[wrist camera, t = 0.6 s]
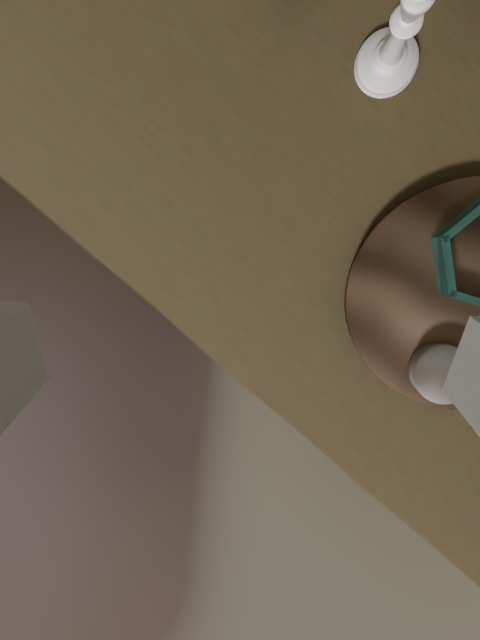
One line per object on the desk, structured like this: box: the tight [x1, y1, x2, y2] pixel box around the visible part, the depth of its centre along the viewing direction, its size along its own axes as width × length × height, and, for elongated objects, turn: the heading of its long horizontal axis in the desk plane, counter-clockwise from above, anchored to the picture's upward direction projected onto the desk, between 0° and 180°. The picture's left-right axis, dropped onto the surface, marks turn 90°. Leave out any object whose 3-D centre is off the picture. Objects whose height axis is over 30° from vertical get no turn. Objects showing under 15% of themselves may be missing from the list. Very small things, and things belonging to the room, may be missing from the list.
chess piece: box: [354, 0, 435, 99], centre depth 23 cm, size 5×5×10 cm
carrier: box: [344, 176, 480, 409], centre depth 29 cm, size 20×20×4 cm
